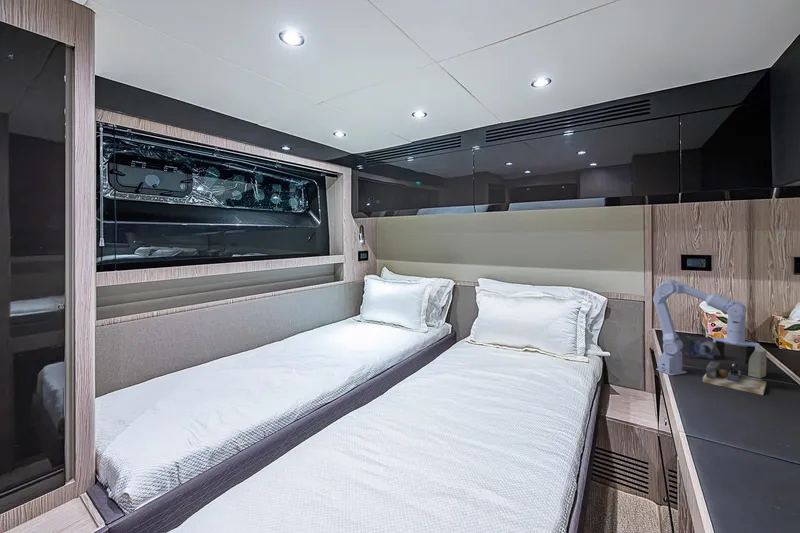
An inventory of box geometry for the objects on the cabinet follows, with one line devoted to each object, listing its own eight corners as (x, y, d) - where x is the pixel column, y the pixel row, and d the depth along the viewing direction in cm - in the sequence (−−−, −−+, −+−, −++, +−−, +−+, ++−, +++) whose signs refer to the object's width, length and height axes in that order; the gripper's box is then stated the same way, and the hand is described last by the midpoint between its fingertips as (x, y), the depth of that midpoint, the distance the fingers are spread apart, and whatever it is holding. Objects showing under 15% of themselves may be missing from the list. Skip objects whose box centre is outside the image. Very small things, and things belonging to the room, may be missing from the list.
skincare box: (760, 378, 160) (761, 352, 159) (747, 375, 164) (748, 349, 163) (766, 375, 163) (767, 349, 162) (753, 372, 167) (754, 347, 166)
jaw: (727, 381, 154) (728, 365, 154) (731, 375, 160) (731, 359, 159) (737, 383, 152) (737, 367, 151) (740, 376, 158) (741, 361, 157)
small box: (689, 358, 188) (690, 339, 187) (684, 354, 194) (685, 335, 193) (714, 360, 184) (715, 340, 183) (708, 356, 190) (709, 336, 189)
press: (702, 381, 160) (703, 366, 159) (708, 374, 167) (708, 359, 167) (763, 395, 145) (763, 378, 144) (766, 386, 153) (766, 370, 152)
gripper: (711, 329, 157) (711, 359, 158) (758, 335, 146) (757, 368, 147) (715, 326, 162) (714, 355, 163) (760, 332, 151) (759, 363, 152)
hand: (734, 361), depth 155 cm, fingers open, 7 cm apart
